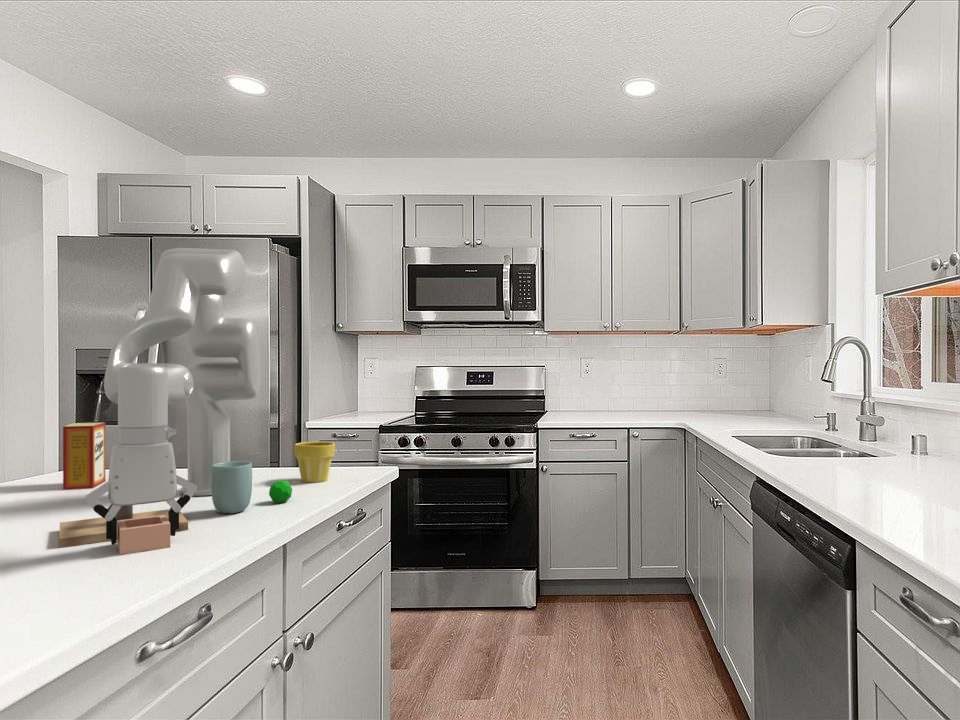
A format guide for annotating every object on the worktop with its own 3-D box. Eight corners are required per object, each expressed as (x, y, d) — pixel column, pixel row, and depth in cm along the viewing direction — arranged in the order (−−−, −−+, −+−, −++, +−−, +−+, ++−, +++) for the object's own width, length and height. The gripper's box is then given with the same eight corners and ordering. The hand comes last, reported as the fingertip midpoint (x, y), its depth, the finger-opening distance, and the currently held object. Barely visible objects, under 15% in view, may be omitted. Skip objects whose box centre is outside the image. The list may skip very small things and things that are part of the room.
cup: (259, 508, 133) (259, 462, 133) (234, 517, 125) (233, 467, 125) (230, 506, 135) (230, 460, 135) (203, 514, 128) (203, 465, 128)
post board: (177, 515, 127) (177, 474, 127) (188, 529, 116) (188, 484, 116) (59, 530, 116) (59, 485, 116) (59, 547, 105) (59, 497, 105)
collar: (164, 536, 111) (164, 514, 111) (170, 547, 105) (170, 523, 105) (117, 543, 107) (116, 520, 107) (120, 554, 101) (120, 530, 101)
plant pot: (324, 475, 172) (324, 440, 172) (341, 480, 164) (341, 443, 164) (288, 479, 165) (288, 443, 165) (304, 485, 157) (304, 447, 157)
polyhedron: (273, 505, 135) (273, 484, 135) (265, 502, 139) (265, 480, 139) (295, 502, 139) (295, 481, 139) (287, 498, 142) (287, 478, 142)
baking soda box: (77, 482, 162) (77, 421, 163) (105, 481, 164) (105, 420, 164) (63, 489, 153) (63, 425, 153) (92, 488, 155) (92, 424, 155)
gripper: (194, 431, 114) (194, 526, 114) (82, 438, 104) (82, 541, 104) (202, 435, 108) (202, 535, 108) (83, 442, 98) (83, 552, 98)
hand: (143, 537), depth 106 cm, fingers open, 8 cm apart
